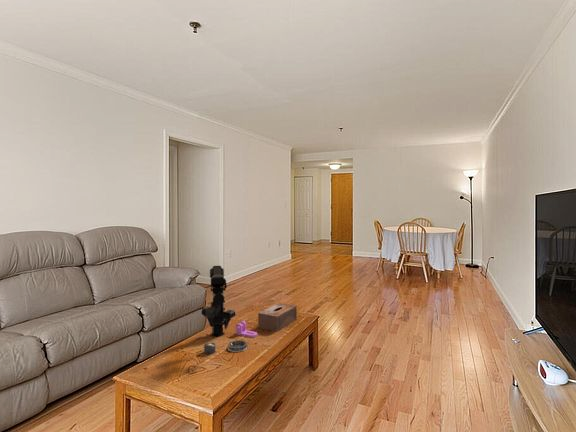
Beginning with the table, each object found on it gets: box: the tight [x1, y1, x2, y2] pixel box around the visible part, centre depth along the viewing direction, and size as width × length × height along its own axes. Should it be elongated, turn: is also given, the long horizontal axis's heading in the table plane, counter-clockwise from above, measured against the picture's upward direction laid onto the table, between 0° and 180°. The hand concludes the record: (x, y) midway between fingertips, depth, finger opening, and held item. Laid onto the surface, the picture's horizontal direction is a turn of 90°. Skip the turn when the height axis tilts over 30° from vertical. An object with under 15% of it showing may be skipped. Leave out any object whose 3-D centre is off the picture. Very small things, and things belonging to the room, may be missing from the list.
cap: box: [203, 342, 216, 356], centre depth 180 cm, size 6×6×4 cm
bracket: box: [235, 320, 258, 338], centre depth 204 cm, size 13×6×7 cm, turn 64°
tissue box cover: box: [257, 302, 298, 333], centre depth 223 cm, size 26×14×10 cm, turn 150°
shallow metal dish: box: [227, 339, 249, 353], centre depth 185 cm, size 11×11×2 cm
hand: (218, 328), depth 181 cm, fingers open, 9 cm apart
